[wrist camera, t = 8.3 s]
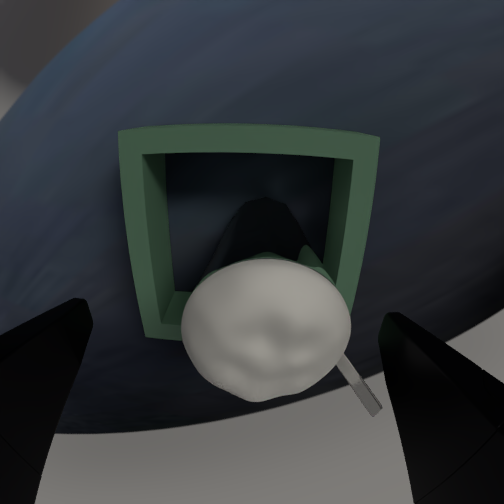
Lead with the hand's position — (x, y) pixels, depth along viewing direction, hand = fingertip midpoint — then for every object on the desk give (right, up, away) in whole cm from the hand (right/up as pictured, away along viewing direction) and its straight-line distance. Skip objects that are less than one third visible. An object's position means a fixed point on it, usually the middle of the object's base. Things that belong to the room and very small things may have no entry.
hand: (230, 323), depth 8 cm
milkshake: (+2, +3, +7) cm, 8 cm away
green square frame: (0, +3, +7) cm, 8 cm away
